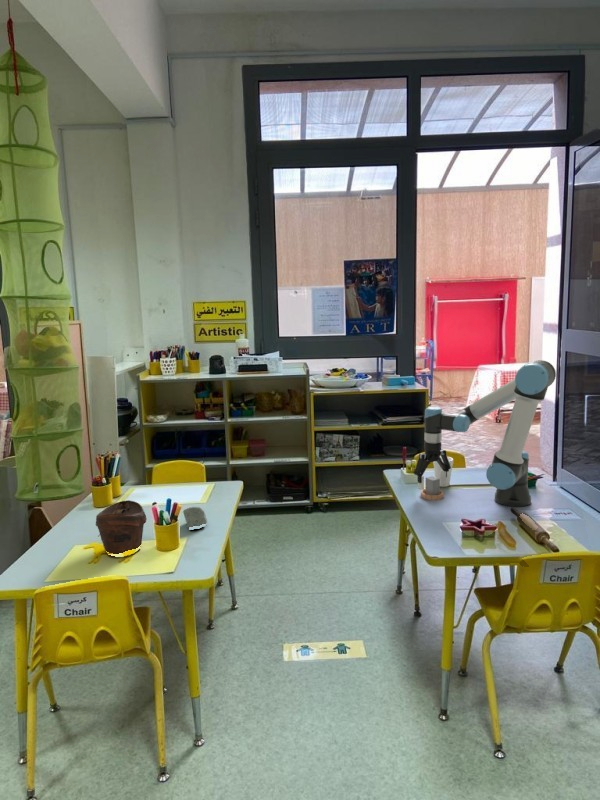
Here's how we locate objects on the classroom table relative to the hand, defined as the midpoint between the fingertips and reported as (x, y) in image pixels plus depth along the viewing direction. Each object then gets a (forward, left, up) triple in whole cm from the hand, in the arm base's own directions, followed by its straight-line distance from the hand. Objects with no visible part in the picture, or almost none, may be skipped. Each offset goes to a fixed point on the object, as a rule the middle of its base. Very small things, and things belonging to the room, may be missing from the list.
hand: (432, 487), depth 255 cm
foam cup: (+10, -15, -5) cm, 19 cm away
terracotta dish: (0, 0, -4) cm, 4 cm away
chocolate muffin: (+15, +135, -5) cm, 136 cm away
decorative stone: (+23, +105, -5) cm, 107 cm away
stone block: (0, 0, -4) cm, 4 cm away
